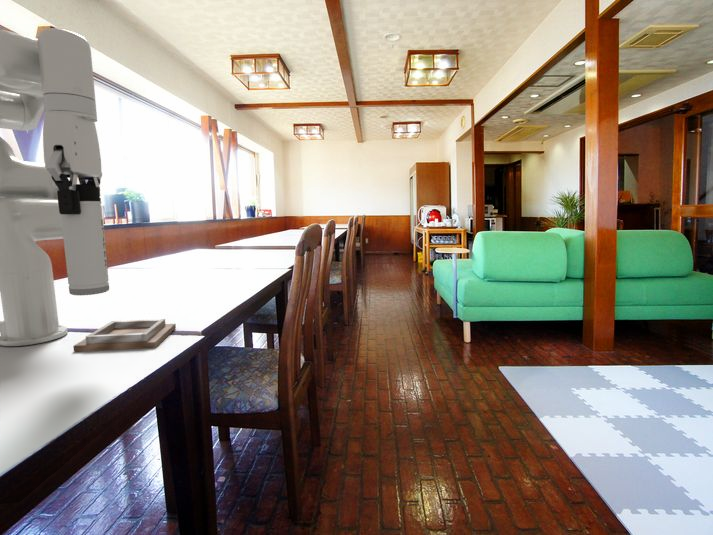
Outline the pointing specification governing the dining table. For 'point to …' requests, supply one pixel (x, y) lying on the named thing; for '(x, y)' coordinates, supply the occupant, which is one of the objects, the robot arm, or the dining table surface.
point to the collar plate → (127, 335)
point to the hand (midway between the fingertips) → (81, 212)
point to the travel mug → (86, 245)
